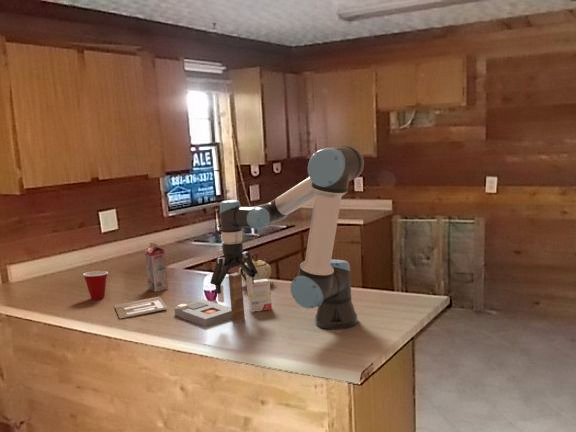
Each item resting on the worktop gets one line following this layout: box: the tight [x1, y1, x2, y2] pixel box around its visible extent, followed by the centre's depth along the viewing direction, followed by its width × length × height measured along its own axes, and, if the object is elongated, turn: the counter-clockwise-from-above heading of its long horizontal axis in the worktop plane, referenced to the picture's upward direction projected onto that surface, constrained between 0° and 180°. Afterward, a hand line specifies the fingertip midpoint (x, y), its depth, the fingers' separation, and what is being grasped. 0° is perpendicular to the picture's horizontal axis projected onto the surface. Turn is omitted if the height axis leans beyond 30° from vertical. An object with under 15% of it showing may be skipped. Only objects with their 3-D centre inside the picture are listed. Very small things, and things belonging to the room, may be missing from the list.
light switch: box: [114, 296, 168, 320], centre depth 238 cm, size 18×2×19 cm
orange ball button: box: [205, 310, 216, 314], centre depth 220 cm, size 4×4×1 cm
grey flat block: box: [174, 299, 232, 328], centre depth 223 cm, size 22×14×4 cm, turn 42°
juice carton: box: [144, 242, 169, 293], centre depth 267 cm, size 7×7×22 cm
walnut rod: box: [228, 272, 246, 323], centre depth 214 cm, size 3×3×18 cm
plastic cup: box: [82, 270, 109, 301], centre depth 259 cm, size 11×11×12 cm
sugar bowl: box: [238, 252, 272, 286], centre depth 263 cm, size 20×15×15 cm
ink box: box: [247, 278, 273, 313], centre depth 227 cm, size 9×5×12 cm, turn 103°
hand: (235, 297), depth 214 cm, fingers open, 13 cm apart
